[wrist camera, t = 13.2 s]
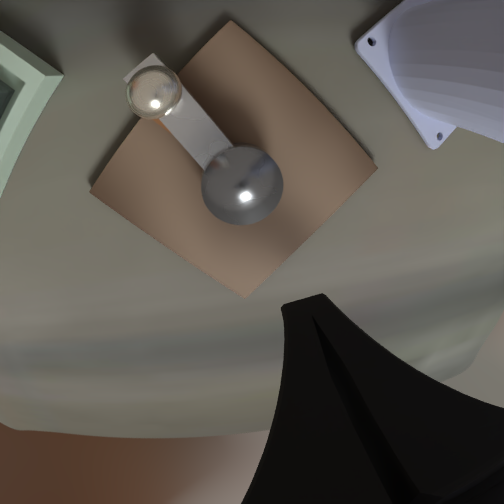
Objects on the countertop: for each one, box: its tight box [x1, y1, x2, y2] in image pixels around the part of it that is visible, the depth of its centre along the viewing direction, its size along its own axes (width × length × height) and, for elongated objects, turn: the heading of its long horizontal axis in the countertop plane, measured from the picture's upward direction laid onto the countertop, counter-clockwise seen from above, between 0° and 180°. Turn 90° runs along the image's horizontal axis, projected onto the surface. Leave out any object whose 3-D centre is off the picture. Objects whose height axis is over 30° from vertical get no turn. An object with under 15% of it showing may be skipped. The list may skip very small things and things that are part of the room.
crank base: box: [89, 20, 378, 299], centre depth 16 cm, size 11×11×1 cm
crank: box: [123, 53, 283, 225], centre depth 12 cm, size 9×4×4 cm, turn 36°
